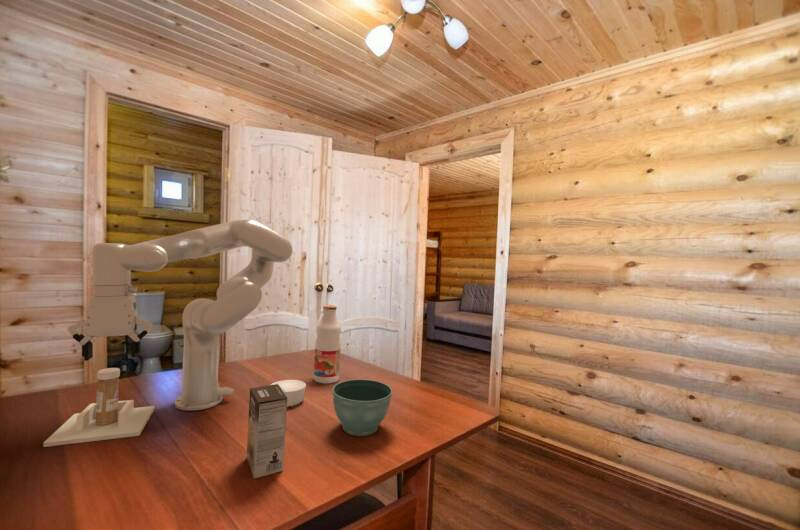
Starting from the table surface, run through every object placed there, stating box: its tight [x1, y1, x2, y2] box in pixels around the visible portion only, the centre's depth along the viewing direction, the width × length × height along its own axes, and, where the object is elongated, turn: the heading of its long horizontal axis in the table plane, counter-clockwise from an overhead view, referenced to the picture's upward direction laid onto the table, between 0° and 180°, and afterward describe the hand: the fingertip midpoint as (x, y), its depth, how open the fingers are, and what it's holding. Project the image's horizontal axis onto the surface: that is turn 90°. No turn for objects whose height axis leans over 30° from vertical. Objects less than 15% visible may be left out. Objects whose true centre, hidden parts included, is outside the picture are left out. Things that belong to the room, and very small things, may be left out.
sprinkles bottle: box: [95, 367, 121, 425], centre depth 92 cm, size 5×5×13 cm
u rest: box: [42, 399, 156, 448], centre depth 92 cm, size 18×16×4 cm
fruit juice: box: [313, 304, 342, 384], centre depth 135 cm, size 9×9×28 cm
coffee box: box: [246, 384, 288, 479], centre depth 79 cm, size 9×6×16 cm
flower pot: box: [332, 379, 393, 437], centre depth 98 cm, size 16×16×11 cm
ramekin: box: [270, 379, 307, 408], centre depth 113 cm, size 11×11×5 cm
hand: (112, 357), depth 92 cm, fingers open, 9 cm apart
